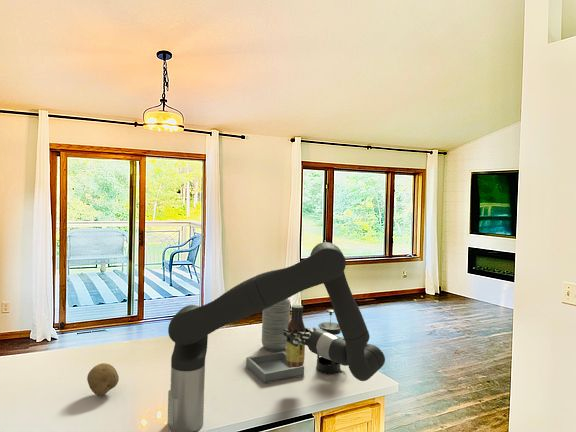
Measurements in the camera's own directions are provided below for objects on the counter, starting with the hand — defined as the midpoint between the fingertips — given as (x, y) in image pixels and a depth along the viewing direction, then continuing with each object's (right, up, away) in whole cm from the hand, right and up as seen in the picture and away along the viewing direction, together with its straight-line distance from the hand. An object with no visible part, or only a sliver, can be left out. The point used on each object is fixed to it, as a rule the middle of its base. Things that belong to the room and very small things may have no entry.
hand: (292, 330), depth 143 cm
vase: (-7, -18, +36) cm, 41 cm away
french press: (+14, -19, +16) cm, 29 cm away
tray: (-7, -19, +12) cm, 23 cm away
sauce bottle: (+1, -11, -1) cm, 11 cm away
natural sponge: (-60, -18, -11) cm, 64 cm away
